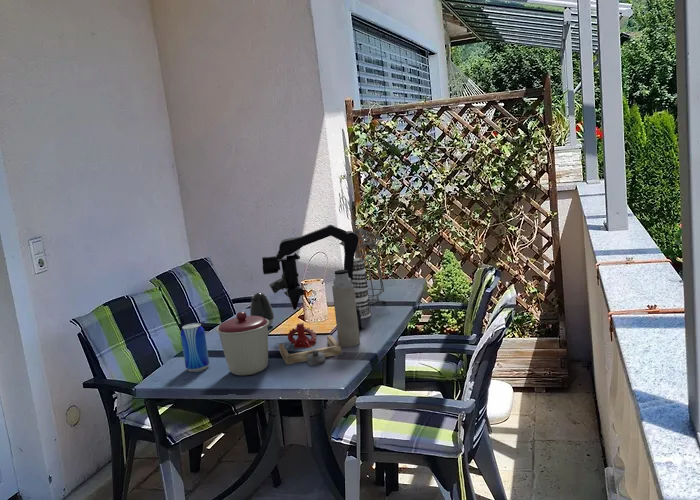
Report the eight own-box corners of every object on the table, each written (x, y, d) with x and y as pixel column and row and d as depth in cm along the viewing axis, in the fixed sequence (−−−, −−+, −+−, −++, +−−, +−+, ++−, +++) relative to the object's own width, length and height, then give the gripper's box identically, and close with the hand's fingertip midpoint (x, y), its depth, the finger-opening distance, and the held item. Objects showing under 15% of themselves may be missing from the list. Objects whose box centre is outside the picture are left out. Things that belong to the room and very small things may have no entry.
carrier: (331, 342, 248) (330, 332, 248) (346, 359, 227) (345, 348, 227) (279, 352, 243) (278, 341, 243) (289, 370, 222) (288, 359, 222)
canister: (252, 382, 215) (243, 320, 211) (212, 377, 224) (202, 318, 221) (285, 363, 230) (277, 305, 226) (246, 359, 239) (238, 303, 236)
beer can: (188, 366, 239) (181, 324, 237) (211, 363, 240) (204, 321, 237) (184, 374, 231) (177, 330, 228) (208, 370, 231) (201, 327, 229)
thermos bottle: (343, 340, 250) (334, 268, 245) (362, 340, 247) (354, 267, 242) (335, 346, 242) (327, 273, 238) (356, 346, 239) (347, 272, 235)
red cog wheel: (297, 351, 242) (294, 329, 241) (285, 344, 253) (282, 323, 252) (323, 344, 247) (320, 323, 246) (310, 337, 258) (307, 317, 256)
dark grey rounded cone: (246, 330, 278) (241, 295, 276) (260, 323, 287) (255, 289, 285) (265, 331, 274) (261, 296, 271) (279, 324, 283) (275, 289, 280)
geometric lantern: (390, 298, 305) (382, 225, 298) (373, 308, 292) (365, 232, 286) (361, 297, 314) (353, 225, 307) (344, 306, 301) (335, 232, 294)
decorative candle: (346, 319, 278) (340, 261, 274) (354, 313, 287) (348, 257, 283) (366, 319, 275) (360, 261, 271) (374, 312, 283) (368, 256, 279)
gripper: (266, 270, 264) (271, 308, 266) (273, 278, 246) (278, 318, 248) (293, 266, 266) (298, 303, 269) (301, 273, 249) (307, 313, 251)
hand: (294, 309), depth 259 cm, fingers closed
